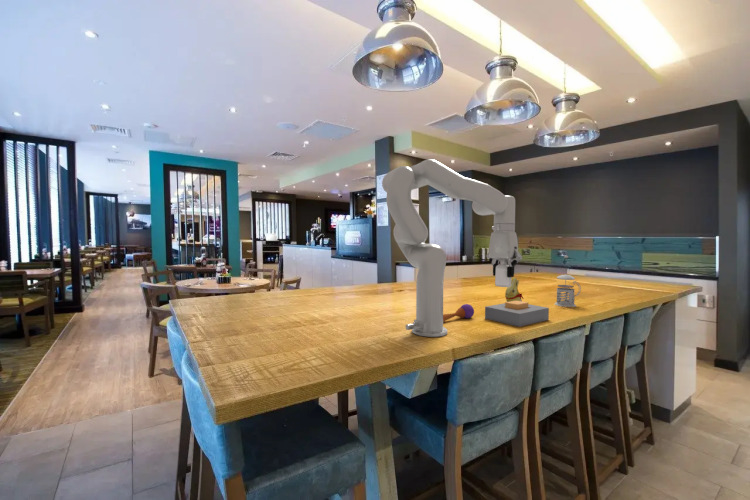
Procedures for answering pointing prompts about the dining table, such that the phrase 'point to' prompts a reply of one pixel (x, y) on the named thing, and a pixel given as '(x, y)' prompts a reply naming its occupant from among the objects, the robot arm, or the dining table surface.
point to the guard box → (517, 314)
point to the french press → (566, 289)
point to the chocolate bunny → (513, 291)
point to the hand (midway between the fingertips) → (503, 275)
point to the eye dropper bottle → (502, 274)
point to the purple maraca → (461, 312)
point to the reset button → (516, 305)
